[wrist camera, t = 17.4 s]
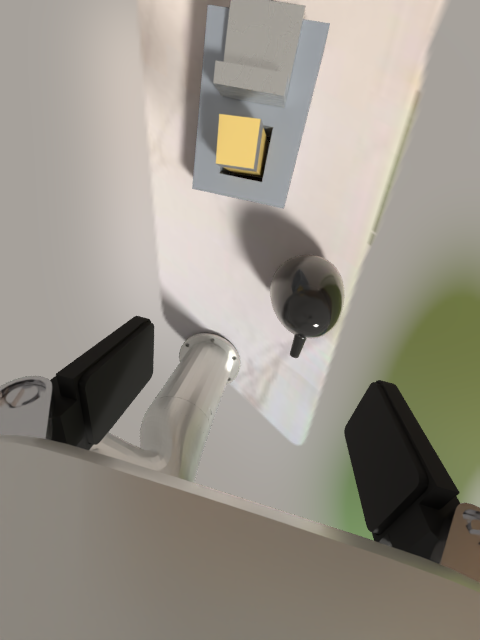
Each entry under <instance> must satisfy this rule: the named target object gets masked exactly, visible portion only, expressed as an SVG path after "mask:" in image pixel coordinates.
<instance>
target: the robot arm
mask: <svg viewBox="0 0 480 640" xmlns="http://www.w3.org/2000/svg"><path fill="white" fill-rule="evenodd" d="M153 354H154V325H153V323H151V321H150V319H147V318H143V317H139V316H135V317H133V318H132V319H131V320H129V321H128V322H127V323H125V324H124V325H122V326H121V327H120V328H118V329H117V330H116V331H114V332H113V333H112V334H110V335H109V336H107V337H106V338H105V339H103V340H102V341H100V342H99V343H98V344H96V345H95V346H94V347H92V348H91V349H90V350H88V351H87V352H85V353H84V354H83V355H81V356H80V357H78V358H77V359H76V360H74V361H73V362H72V363H70V364H69V365H68V366H66V367H65V368H64V369H62V370H61V371H59V372H58V373H56V377H54V378H53V379H51V380H49V379H47V378H44V377H41V376H28V377H22V378H18V379H15V380H13V381H10V382H8V383H6V384H4V385H2V386H1V387H0V640H480V508H479V507H477V506H475V505H473V504H469V503H461V504H460V502H459V500H458V499H457V497H456V495H458V494H459V491H458V489H457V488H456V486H455V484H454V483H453V481H452V479H451V478H450V476H449V474H448V473H447V471H446V469H445V467H444V466H443V464H442V462H441V461H440V459H439V457H438V456H437V454H436V452H435V450H434V449H433V447H432V445H431V444H430V442H429V440H428V439H427V437H426V435H425V433H424V432H423V430H422V429H421V427H420V425H419V423H418V422H417V420H416V418H415V417H414V415H413V413H412V411H411V410H410V408H409V406H408V405H407V403H406V401H405V400H404V398H403V396H402V395H401V393H400V391H399V390H398V388H397V386H396V385H394V384H392V383H388V382H385V381H381V380H378V381H376V382H375V383H374V382H373V383H371V384H370V386H369V388H368V389H367V391H366V393H365V394H364V396H363V398H362V399H361V401H360V403H359V404H358V406H357V408H356V409H355V411H354V413H353V415H352V416H351V418H350V420H349V421H348V423H347V425H346V427H345V438H346V442H347V447H348V450H349V455H350V459H351V463H352V467H353V471H354V476H355V480H356V484H357V488H358V492H359V496H360V500H361V505H362V509H363V513H364V517H365V521H366V525H367V528H368V530H369V531H370V532H372V534H373V538H374V541H373V540H370V539H367V538H364V537H361V536H358V535H355V534H352V533H349V532H346V531H343V530H340V529H337V528H333V527H330V526H327V525H324V524H321V523H318V522H315V521H312V520H309V519H305V518H302V517H300V516H296V515H293V514H290V513H287V512H284V511H281V510H278V509H274V508H272V507H268V506H265V505H262V504H259V503H256V502H253V501H250V500H247V499H243V498H240V497H237V496H234V495H231V494H227V493H224V492H221V491H218V490H215V489H212V488H209V487H206V486H203V485H199V484H196V483H195V478H196V474H197V470H198V466H199V463H200V459H201V456H202V452H203V449H204V446H205V443H206V441H207V438H208V435H209V432H210V429H211V426H212V423H213V420H214V417H215V415H216V412H217V409H218V406H219V403H220V400H221V397H222V394H223V392H224V389H225V386H226V385H227V384H229V383H231V382H232V381H233V380H234V379H235V378H236V377H237V375H238V372H239V369H240V358H239V355H238V352H237V350H236V349H235V348H234V346H233V345H232V344H231V343H230V342H229V341H227V340H226V339H224V338H222V337H220V336H218V335H215V334H210V333H200V334H195V335H193V336H191V337H190V338H188V339H187V340H186V341H185V342H184V344H183V345H182V347H181V349H180V353H179V358H180V364H179V365H178V366H177V368H176V369H175V370H174V372H173V373H172V375H171V376H170V378H169V379H168V381H167V382H166V384H165V385H164V387H163V388H162V389H161V391H160V392H159V394H158V395H157V397H156V398H155V400H154V401H153V402H152V404H151V405H150V407H149V408H148V410H147V411H146V413H145V415H144V418H143V420H142V424H141V429H140V446H141V448H139V447H137V446H134V445H132V444H130V443H128V442H126V441H124V440H123V439H121V438H119V437H117V436H115V435H113V434H111V433H109V430H110V429H111V428H112V427H113V425H114V424H115V423H116V422H117V420H118V419H119V418H120V416H121V415H122V414H123V413H124V411H125V410H126V409H127V408H128V407H129V405H130V404H131V403H132V401H133V400H134V399H135V398H136V396H137V395H138V394H139V393H140V391H141V390H142V389H143V388H144V386H145V385H146V384H147V382H148V381H149V380H150V378H151V377H152V374H153Z"/></svg>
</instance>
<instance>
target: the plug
mask: <svg viewBox="0 0 480 640" xmlns="http://www.w3.org/2000/svg"><path fill="white" fill-rule="evenodd" d="M268 144H269V142H268V139H267V136H266V134H265V131H264V128H263V123H262V120H261V119H258V118H249V117H241V116H233V115H225V114H219V126H218V139H217V153H216V164H217V165H218V166H220V167H224V168H225V169H227V170H229V171H231V172H233V173H235V174H240V175H247V176H254V177H261V178H263V174H264V169H265V163H266V157H267V150H268Z"/></svg>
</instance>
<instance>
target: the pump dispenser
mask: <svg viewBox="0 0 480 640" xmlns="http://www.w3.org/2000/svg"><path fill="white" fill-rule="evenodd" d="M270 298H271V303H272V307H273V310H274V312H275V314H276V316H277V318H278V320H279V321H280V322H281V324H282V325H283V326H284V327H285V328H286V329H287V330H288V331H290V332H291V333H293V334H294V340H293V344H292V347H291V351H290V355H291V356H292V357H294V358H298V357H299V355H300V352H301V350H302V348H303V345H304V343H305V341H306V339H307V338H311V339H312V338H318V337H321V336H323V335H325V334H327V333H328V332H329V331H330V330H332V328H333V327H334V326H335V325H336V323H337V322H338V320H339V318H340V315H341V312H342V308H343V304H344V285H343V281H342V278H341V275H340V273H339V271H338V270H337V268H336V267H335V266H334V265H333V264H332V263H331V262H329V261H328V260H326V259H325V258H322V257H320V256H316V255H300V256H296V257H293V258H291V259H289V260H287V261H286V262H284V263H283V264H282V265H281V266H280V267H279V268H278V269H277V271H276V272H275V274H274V276H273V278H272V281H271V285H270Z"/></svg>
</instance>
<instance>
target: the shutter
mask: <svg viewBox="0 0 480 640" xmlns="http://www.w3.org/2000/svg"><path fill="white" fill-rule="evenodd" d="M305 7H306V6H304V5H297V4H291V3H284V2H277V1H271V0H230V9H229V18H228V27H227V36H226V44H225V53H224V62H222V61H215V71H214V80H213V83H214V85H215V87H216V88H217V90H218V91H219V93H220V94H221V96H222V97H227V98H232V99H238V100H243V101H249V102H254V103H259V104H265V105H270V106H275V107H281V108H285V103H286V99H287V94H288V89H289V85H290V80H291V75H292V71H293V66H294V61H295V57H296V52H297V48H298V43H299V38H300V34H301V29H302V24H303V20H304V15H305Z"/></svg>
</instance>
